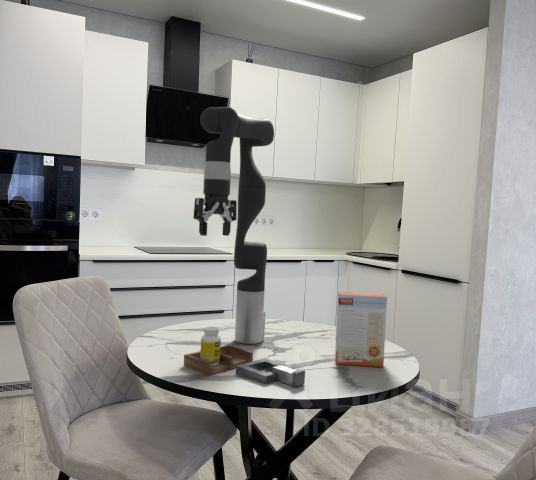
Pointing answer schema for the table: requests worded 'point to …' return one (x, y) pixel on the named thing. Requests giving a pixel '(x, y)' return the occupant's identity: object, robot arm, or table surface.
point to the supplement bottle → (210, 345)
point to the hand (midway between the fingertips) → (214, 235)
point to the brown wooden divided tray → (228, 360)
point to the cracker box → (360, 329)
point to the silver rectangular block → (289, 375)
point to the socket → (253, 370)
